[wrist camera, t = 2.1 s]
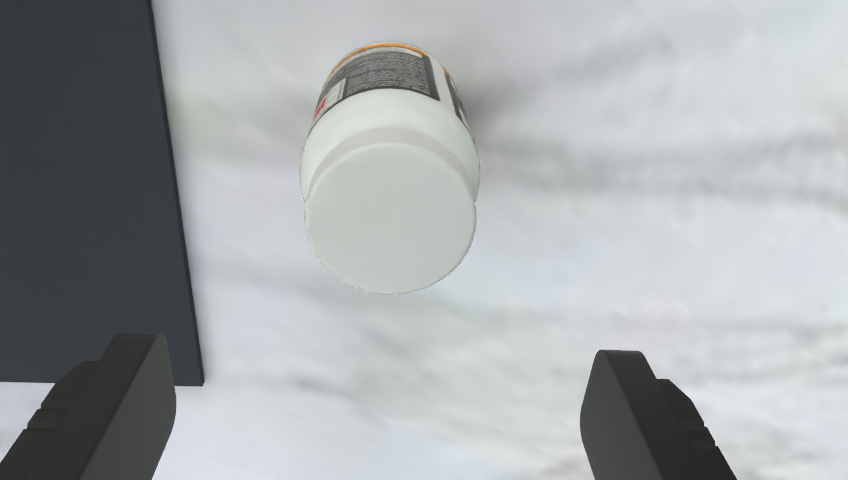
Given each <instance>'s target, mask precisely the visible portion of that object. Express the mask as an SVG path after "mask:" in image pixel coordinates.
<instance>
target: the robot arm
mask: <svg viewBox="0 0 848 480" xmlns="http://www.w3.org/2000/svg"><path fill="white" fill-rule="evenodd" d="M175 414H176V394H175V388H174V382H173V376H172V370H171V364H170V358H169V352H168V346H167V341H166V338H165V337H164V336H163V335H162V334H140V333H118V334H117V335H115V336H114V338H113V339H112V341H111V342H110V344H109V345H108V347H107V349H106V350H105V352H104V353H103V355H102V356H101V358H100V360H99V361H83V362H81V363H80V364H79V365H77V366H76V367H75V368H73V369H72V370H71V371H70V372H68V373H67V374H66V375H64V376H63V377H62V378H60V379H59V380H58V381H57V382H56V384H55V385H54V386H53V388H52V389H51V391H50V392H49V394H48V395H47V397H46V398H45V399H44V401H43V402H42V404H41V409H38V410H37V411H36V412H35V414H34V415H33V417H32V418H31V420H30V421H29V423H28V426H27V429H24V430H23V431H22V433H21V434H20V435H19V437H18V438H17V440H16V441H15V443H14V444H13V446H12V447H11V448H10V450H9V451H8V453H7V454H6V456H5V457H4V459H3V460H2V461H1V463H0V480H152V477H153V475H154V472H155V470H156V468H157V465H158V463H159V460H160V458H161V456H162V453H163V451H164V448H165V446H166V444H167V441H168V439H169V436H170V434H171V431H172V428H173V425H174V421H175ZM580 430H581V437H582V441H583V445H584V448H585V451H586V454H587V457H588V460H589V463H590V466H591V469H592V472H593V475H594V478H595V480H737V479H736V477H735V475H734V474H733V472H732V470H731V468H730V467H729V465H728V463H727V461H726V460H725V458H724V456H723V455H722V453H721V451H720V449H719V448H718V446H715V441H714V439H713V437H712V435H711V434H710V432H709V430H708V428H707V427H704V422H703V420H702V418H701V416H700V415H699V413H698V411H697V409H696V408H695V406H694V404H693V402H692V401H691V399H690V398H689V397H688V396H686V395H685V394H684V393H683V392H682V391H681V390H680V389H679V388H678V387H677V386H675V385H674V384H673V383H672V382H671V381H670V380H669V379H656V377H655V375H654V373H653V371H652V370H651V368H650V366H649V364H648V362H647V360H646V358H645V356H644V355H643V354H642V353H641V352H640V351H623V350H599V351H598V352H597V354H596V356H595V359H594V362H593V366H592V370H591V374H590V377H589V381H588V385H587V389H586V392H585V396H584V400H583V404H582V408H581V414H580Z"/></svg>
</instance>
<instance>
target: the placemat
mask: <svg viewBox="0 0 848 480" xmlns="http://www.w3.org/2000/svg"><path fill="white" fill-rule="evenodd" d="M118 333H140V334H162V335H163V336H164V337H165V338H166V341H167V346H168V352H169V358H170V364H171V370H172V376H173V382H174V386H203V383H204V376H203V369H202V362H201V354H200V347H199V340H198V333H197V326H196V319H195V312H194V305H193V298H192V290H191V283H190V276H189V269H188V262H187V255H186V248H185V241H184V234H183V227H182V219H181V212H180V205H179V198H178V191H177V184H176V177H175V170H174V163H173V155H172V148H171V141H170V134H169V127H168V120H167V113H166V106H165V99H164V92H163V84H162V77H161V70H160V63H159V56H158V49H157V42H156V35H155V28H154V20H153V13H152V6H151V0H0V382H35V383H56V382H57V381H58V380H59V379H60V378H62V377H63V376H64V375H66V374H67V373H68V372H70V371H71V370H72V369H73V368H75V367H76V366H77V365H79V364H80V363H81V362H83V361H99V360H100V358H101V356H102V355H103V353H104V352H105V350H106V349H107V347H108V345H109V344H110V342H111V341H112V339H113V338H114V336H115V335H117V334H118Z"/></svg>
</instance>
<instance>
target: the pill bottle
mask: <svg viewBox="0 0 848 480" xmlns="http://www.w3.org/2000/svg"><path fill="white" fill-rule="evenodd" d="M479 181H480V162H479V157H478V152H477V149H476V146H475V142H474V140H473V137H472V134H471V132H470V128H469V125H468V123H467V119H466V115H465V111H464V109H463V106H462V103H461V100H460V97H459V94H458V91H457V89H456V87H455V84H454V82H453V81H452V79H451V77H450V76H449V74H448V73H447V71H446V70H445V69H444V67H443V66H442V65H441V64H440V63H439V62H438V61H437V60H436V59H434V58H433V57H432V56H431V55H429V54H428V53H426V52H425V51H423V50H421V49H419V48H417V47H414V46H412V45H408V44H403V43H398V42H378V43H373V44H369V45H366V46H363V47H361V48H358V49H356V50H355V51H353V52H351V53H350V54H348V55H346V56H345V57H344V58H343V59H342V60H341V61H340V62H339V63H338V64H337V65H336V66H335V67H334V68H333V70H332V71H331V73H330V74H329V76H328V77H327V79H326V81H325V83H324V86H323V88H322V91H321V94H320V96H319V99H318V103H317V106H316V110H315V114H314V117H313V121H312V124H311V127H310V130H309V133H308V136H307V139H306V142H305V145H304V148H303V151H302V156H301V162H300V183H301V189H302V194H303V198H304V201H305V204H306V207H305V228H306V233H307V237H308V240H309V243H310V245H311V248H312V250H313V251H314V253H315V255H316V257H317V258H318V259H319V261H320V262H321V263H322V264H323V266H324V267H325V268H326V269H327V270H328V271H329V272H331V273H332V274H333V275H334V276H336V277H337V278H338V279H340V280H342V281H343V282H345V283H346V284H348V285H351V286H353V287H355V288H358V289H361V290H364V291H368V292H372V293H378V294H403V293H409V292H413V291H417V290H420V289H423V288H426V287H428V286H431V285H433V284H435V283H436V282H438V281H440V280H441V279H443V278H444V277H446V276H447V275H448V274H450V273H451V272H452V271H453V270H454V269H455V268H456V267H457V266H458V265H459V264H460V262H461V261H462V259H463V258H464V257H465V255H466V254H467V252H468V250H469V248H470V246H471V243H472V240H473V237H474V233H475V228H476V207H475V201H476V198H477V194H478V189H479Z"/></svg>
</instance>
